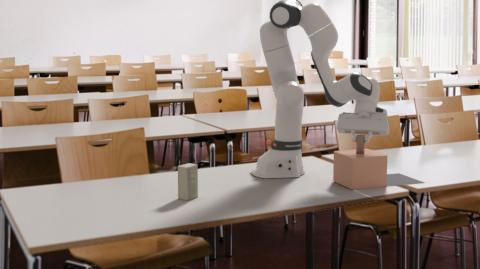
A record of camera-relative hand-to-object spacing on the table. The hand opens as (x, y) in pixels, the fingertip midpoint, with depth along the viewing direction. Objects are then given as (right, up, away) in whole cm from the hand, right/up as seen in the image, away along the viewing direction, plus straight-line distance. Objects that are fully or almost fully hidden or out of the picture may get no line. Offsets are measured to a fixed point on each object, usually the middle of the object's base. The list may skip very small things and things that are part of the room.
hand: (360, 141), depth 263 cm
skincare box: (-65, -20, -18) cm, 71 cm away
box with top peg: (0, -16, +3) cm, 17 cm away
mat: (+15, -16, +10) cm, 24 cm away
